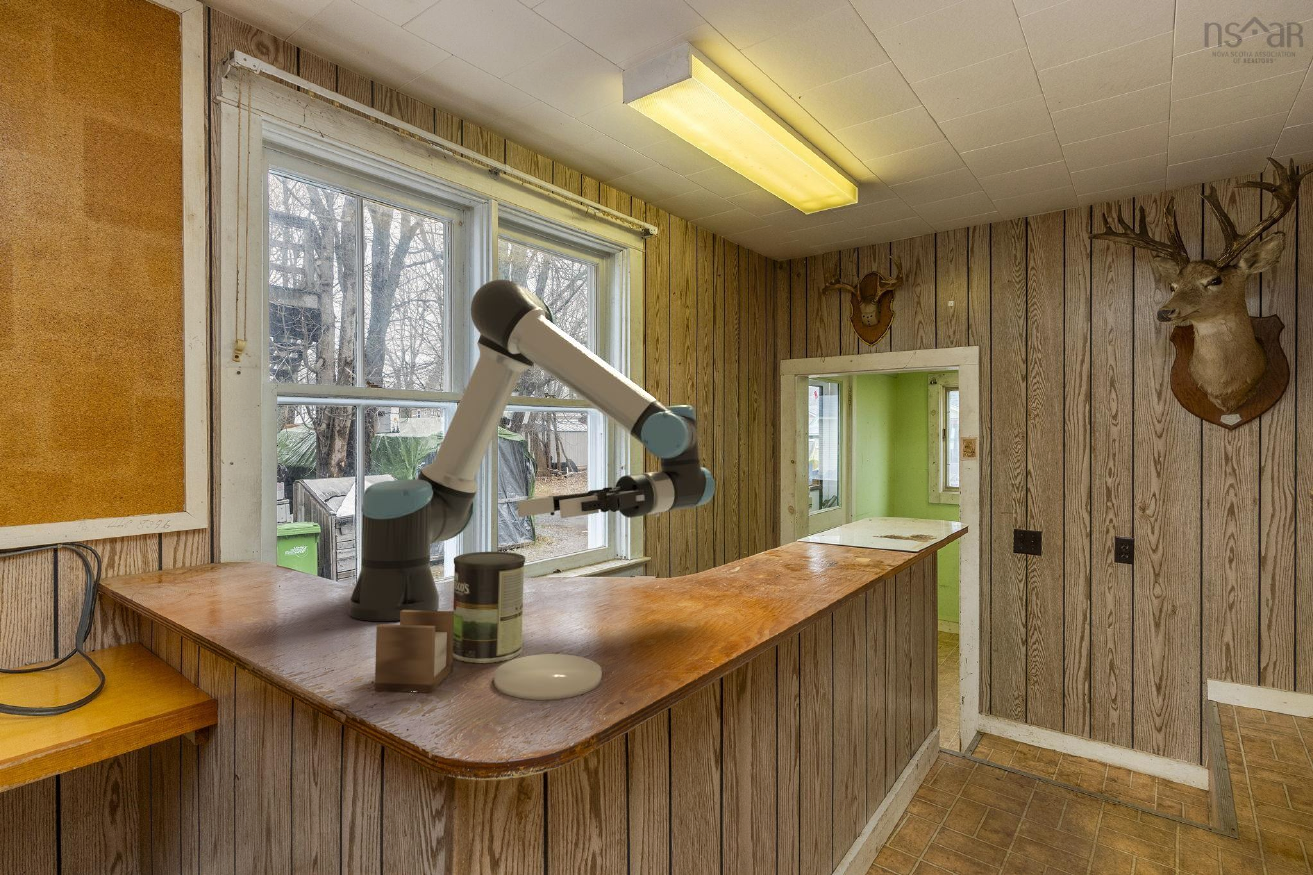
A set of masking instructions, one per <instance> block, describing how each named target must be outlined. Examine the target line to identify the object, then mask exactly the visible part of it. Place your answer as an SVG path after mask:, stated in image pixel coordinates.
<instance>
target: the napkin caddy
mask: <svg viewBox="0 0 1313 875" xmlns="http://www.w3.org/2000/svg"><path fill="white" fill-rule="evenodd" d="M375 629H376V634H375V639H376V640H375V672H374V673H375V674H374V675H375V676H374V678H375V679H374V691H375V692H390V693H391V692H394V693H395V692H396V693H405V692H404V691H412V692H411V693H414V692H413V691H417V692H416V693H418V692H431V693H432V692H433V691H435V689H436V688H437V687H438V686H439V685H440V684H441V683H442V682H443V681H444V680H445V679H446V678H447V677H448V676H449V675H450V674H451V672H453V670H454V668H453V666H454V665H453V664H454V657H453V638H454V611H452V610H449V611H448V610H437V611H424V610H402V611H401V612H400V620H399V624H389V623H387V624H386V623H385V624H384V623H380V624H378V625H377V626H376V628H375ZM448 674H449V675H448ZM446 676H447V677H446ZM444 678H445V679H444ZM443 679H444V680H443ZM441 681H442V682H441ZM439 683H440V684H439ZM436 686H437V687H436ZM434 688H435V689H434ZM402 691H403V692H402Z"/></svg>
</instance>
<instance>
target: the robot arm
mask: <svg viewBox="0 0 1313 875" xmlns="http://www.w3.org/2000/svg"><path fill="white" fill-rule="evenodd" d="M470 318H471V320H472V322H473V325H474V327H475V328H476V329H477V331H478V332H479V333H480V336H479V339H478V340H477V343H476V344H477V347H478V350H479V352H480V356H479V358H478V360H477V362H476V365H475V367H474V369H473V371H472V374H471V375H470V379H469V380H468V383H467V385H466V387H465V390H464V392H463V394H462V397H461V399H460V401H459V404H458V406H457V408H456V410H455V412H454V415H453V417H452V419H451V422H450V424H449V426H448V428H447V431H446V433H445V436H444V438H443V440H442V442H441V445H440V447H439V449H438V451H437V453H436V456H435V458H434V460H433V461H432V463H430V464H428V465H425V466H423V467H422V468H421V471H420V472H419V474H418V477H417V478H416V479H415V478H414V479H413V478H412V479H411V478H407V479H406V478H405V479H403V478H402V479H393V480H384V481H381V482H380V481H379V482H376V483H374V484H371V485H370V486H368V487H366V489H365V491H364V492H363V500H362V504H361V512H362V513H361V514H362V516H361V518H362V519H361V521H362V522H361V525H362V526H361V563H360V572H359V574H358V577H357V580H356V583H355V585H354V588H353V590H352V593H351V597H350V599H349V603H348V608H349V609H348V615H349V616H350V617H352V618H354V619H357V620H362V621H371V622H391V621H392V622H394V621H400V612H401V611H402V610H424V611H439V608H440V594H439V591H438V588H437V584H436V583H435V579H434V575H433V572H432V569H431V545H432V544H435V543H439V542H444V541H448V540H451V539H453V538H455V537H457V536H458V535H460V534H462V533H463V532H464V531H466V529H467V528H468V527H469V526H470V525H471V523H472V521H473V519H474V516H475V512H476V503H475V501H474V499H475V496H476V495H477V492H478V486H477V483H476V481H475V477H476V475H477V472H478V470H479V468H480V466H481V463H482V461H483V460H484V457H485V455H486V453H487V450H488V448H489V446H490V444H491V441H492V439H493V438H494V434H495V433H496V429H497V428H498V425H499V424H500V421H501V420H502V416H503V414H504V412H505V410H506V408H507V406H508V403H509V401H510V398H511V396H512V394H513V392H514V389H515V387H516V386H517V382H518V380H519V379H520V377H521V374H522V373H523V372H525V371H528V370H530V369H533V367H534V364H535V365H536V366H537V367H539V368H540V369H542V370H543V371H544V372H546V373H547V374H548V375H550V376H551V377H552V378H553V379H555V380H556V381H558V382H559V383H560V384H562V385H563V387H566V388H567V389H568V390H570V391H571V392H573V393H574V394H576V396H578V397H579V398H581V399H582V400H583V401H584V402H585V403H588V404H589V405H590V406H591V407H593V408H594V409H596V410H597V411H598V412H599V413H601V414H602V415H604V417H606V418H608V419H609V420H610V421H611V422H613V423H614V424H616V425H617V426H618V427H619V428H621V429H622V430H624V431H625V432H627V433H628V434H629V435H631V437H633V438H634V439H635V440H636V441H638V442H639V443H640V444H642V445H643V446H644V447H645V449H646V451H648V453H650V454H652V455H653V456H655V457H657V458H658V459H659V460H660V469H661V471H659V470H658V471H652V472H650V471H649V472H642V473H635V474H628V475H627V474H626V475H623V476H621V477H620V478H619V479H618V480H617V481H616V483H615V487H612V486H609V487H607V486H606V487H603V488H602V489H593V490H589V491H587V492H582V493H581V492H580V493H571V494H562V495H561V494H560V495H548V496H545V497H537V498H529V499H521V500H516V506H517V517H518V518H522V517H523V518H524V517H530V516H531V517H532V516H537V515H543V514H550V516H555V512H556V511H559V515H560V519H568V518H573V517H580V516H587V515H592V514H599V512H601V513H607V512H612V513H616V512H618V511H619V513H620V514H621V515H622V516H624V517H625V518H630V519H631V518H637V517H642V516H647V515H653V514H654V515H653V516H655V517H659V516H660V513H667V512H672V511H680V510H685V509H693V508H695V507H700V506H703V505H706V504H707V503H709V502H710V501H711V500H712V499H713V496H714V494H715V490H716V483H715V479H714V478H713V476H712V473H711V471H710V470H708V469H707V468H706V467H702V465H701V461H700V455H699V454H700V451H699V442H698V430H697V429H698V428H697V425H698V422H697V419H696V413H695V412H696V411H695V409H694V407H693V406H692V405H688V404H687V405H684V404H683V405H681V404H680V405H672V406H671V405H670V406H666V405H664V404H663V403H662V402H660V401H659V400H657V399H656V398H655V397H653V396H652V395H651V394H649V393H648V392H647V391H645V390H644V389H642V388H641V387H639V386H638V385H637V384H635V382H632V381H631V380H630V379H628V378H627V377H626V376H624V375H623V374H622V373H620V372H619V371H618V370H616V369H615V368H613V367H612V366H611V365H610V364H609V363H607V362H605V361H604V360H603V359H601V358H600V357H598V355H596V354H595V353H593V352H592V351H591V350H589V349H587V348H586V347H585V346H584V345H582V344H581V343H580V342H578V341H577V340H575V338H573V337H572V336H570V335H569V334H568V333H566V332H564V331H563V330H562V329H560V328H559V327H558V326H556V318H555V315H554V312H553V311H552V309H551V308H550V306H548V304H547V302H546V301H544V300H543V299H542V298H541V297H539V296H538V295H536V294H534V293H532V292H531V291H530V290H528V289H526V288H524V287H523V286H522V285H520V284H519V283H517V282H514V281H511V280H508V279H496V280H495V279H494V280H490V281H489V282H487V283H484V284H482V286H480V288H478V290H477V291H475V293H474V295H473V298H472V300H471V303H470Z"/></svg>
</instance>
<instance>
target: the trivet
mask: <svg viewBox="0 0 1313 875" xmlns="http://www.w3.org/2000/svg"><path fill="white" fill-rule="evenodd" d="M602 672H603V671H602V667H601V666H600V664H598V663H597V662H595V660H594V661H593V660H591V659H590V658H586V657H582V656H579V655H578V656H577V655H573V654H562V653H561V654H560V653H545V654H536V655H535V654H533V655H528V656H523V657H519V658H515V659H514V658H513V659H510V660H508V661H506V662H505V663H503V664H501V665H500V666H498V667H497V668H496V670H495V671H494V674H493V683H494V686H495V688H496V689H497V690H498V691H499V692H501V693H503V694H506V695H508V696H510V697H514V698H518V699H524V700H534V701H537V700H538V701H540V700H541V701H543V700H544V701H547V700H548V701H549V700H550V701H551V700H560V699H568V698H573V697H577V696H579V695H584V694H586V693H588V692H590V691H591V692H592V691H593V690H594V689H595V688H597V687H598V686H599V685H600V684H601V682H602Z"/></svg>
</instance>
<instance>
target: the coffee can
mask: <svg viewBox="0 0 1313 875" xmlns="http://www.w3.org/2000/svg"><path fill="white" fill-rule="evenodd" d="M525 563H526V556H524V555H523V554H519V553H517V552H516V553H515V552H509V551H475V552H468V553H462V554H459V555H457V556H455V557H453V564H454V572H453V573H454V574H453V605H452V606H453V607H452V608H453V609H452V610H453V611H454V638H453V659H455V660H456V661H460V662H463V661H464V662H463V663H469V664H481V663H483V664H494V662H496V663H501V662H505V660H506V661H510V660H513V659H514V658H516V657H518V656H520V654H522V652H523V646H522V645H523V641H522V640H523V616H524V615H523V613H524V611H523V610H524V609H523V608H524V582H525V581H524V578H525V577H524V576H525ZM500 661H501V662H500Z"/></svg>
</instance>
